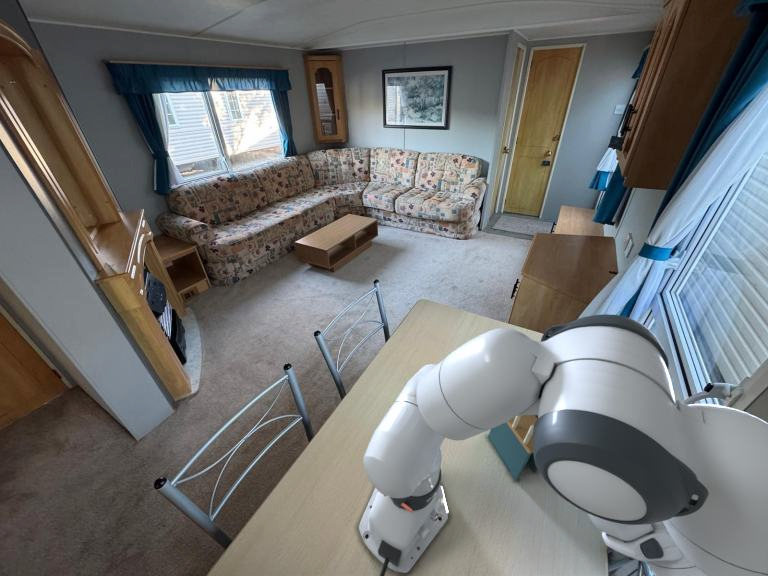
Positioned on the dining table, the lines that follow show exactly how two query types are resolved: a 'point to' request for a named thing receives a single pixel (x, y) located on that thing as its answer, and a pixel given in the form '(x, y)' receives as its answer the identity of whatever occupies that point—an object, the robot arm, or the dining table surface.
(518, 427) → the plate rack
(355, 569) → the dining table surface
